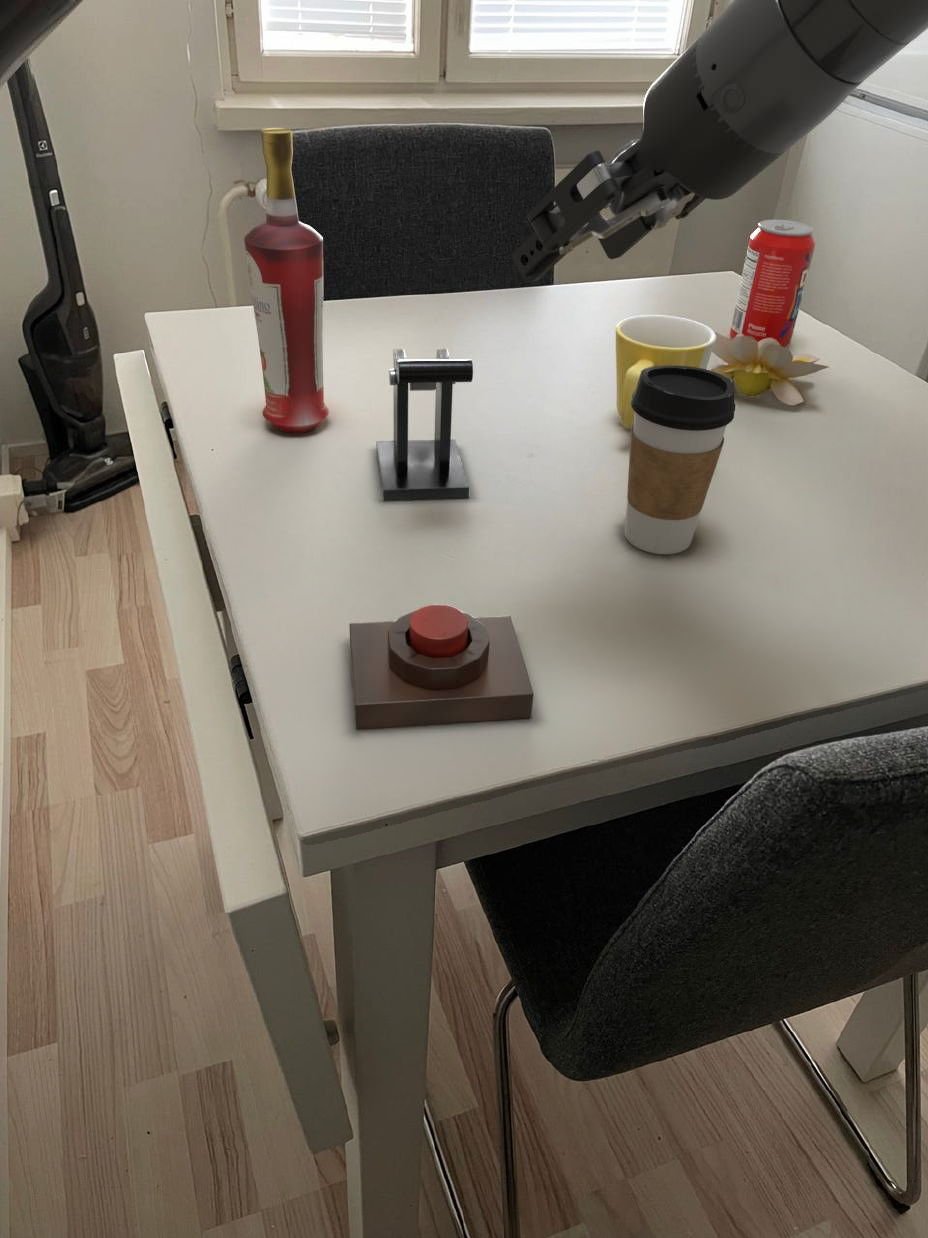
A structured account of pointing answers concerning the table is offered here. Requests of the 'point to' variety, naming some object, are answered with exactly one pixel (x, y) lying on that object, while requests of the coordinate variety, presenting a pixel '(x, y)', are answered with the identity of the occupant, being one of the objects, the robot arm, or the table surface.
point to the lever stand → (421, 449)
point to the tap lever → (433, 372)
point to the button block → (437, 676)
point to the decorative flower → (763, 366)
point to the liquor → (287, 297)
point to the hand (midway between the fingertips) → (565, 257)
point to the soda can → (773, 281)
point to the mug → (656, 351)
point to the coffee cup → (674, 453)
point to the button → (438, 631)
